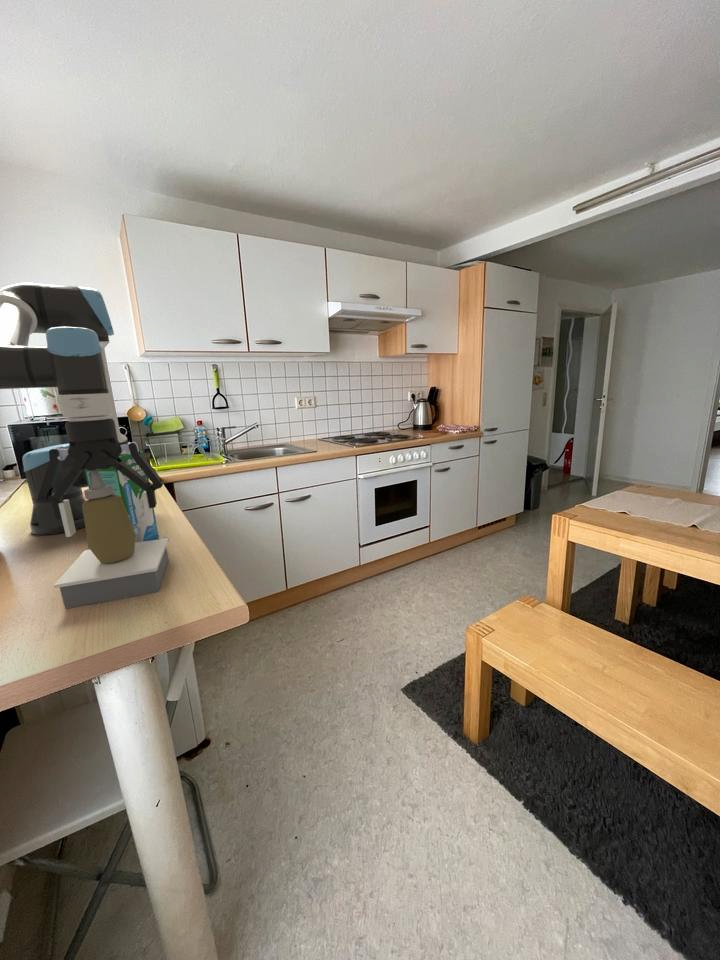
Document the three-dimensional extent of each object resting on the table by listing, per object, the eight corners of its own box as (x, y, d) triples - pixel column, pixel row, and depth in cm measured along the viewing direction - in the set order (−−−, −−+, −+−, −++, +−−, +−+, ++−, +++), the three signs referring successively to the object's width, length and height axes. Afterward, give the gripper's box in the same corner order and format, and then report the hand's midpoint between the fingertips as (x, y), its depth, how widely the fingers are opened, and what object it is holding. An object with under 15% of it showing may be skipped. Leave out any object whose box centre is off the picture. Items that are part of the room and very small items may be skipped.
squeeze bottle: (122, 548, 82) (100, 465, 78) (149, 550, 79) (127, 463, 75) (84, 565, 75) (56, 474, 71) (111, 568, 72) (84, 473, 68)
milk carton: (133, 551, 93) (113, 448, 87) (101, 549, 95) (79, 448, 89) (159, 536, 102) (142, 442, 96) (129, 535, 104) (111, 442, 98)
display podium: (89, 571, 83) (84, 550, 82) (171, 558, 88) (167, 538, 87) (60, 610, 68) (54, 585, 67) (160, 592, 73) (156, 568, 72)
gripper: (-7, 425, 63) (25, 546, 68) (162, 415, 71) (179, 525, 76) (16, 422, 70) (43, 532, 75) (167, 413, 78) (183, 514, 83)
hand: (112, 529), depth 75 cm, fingers open, 13 cm apart
